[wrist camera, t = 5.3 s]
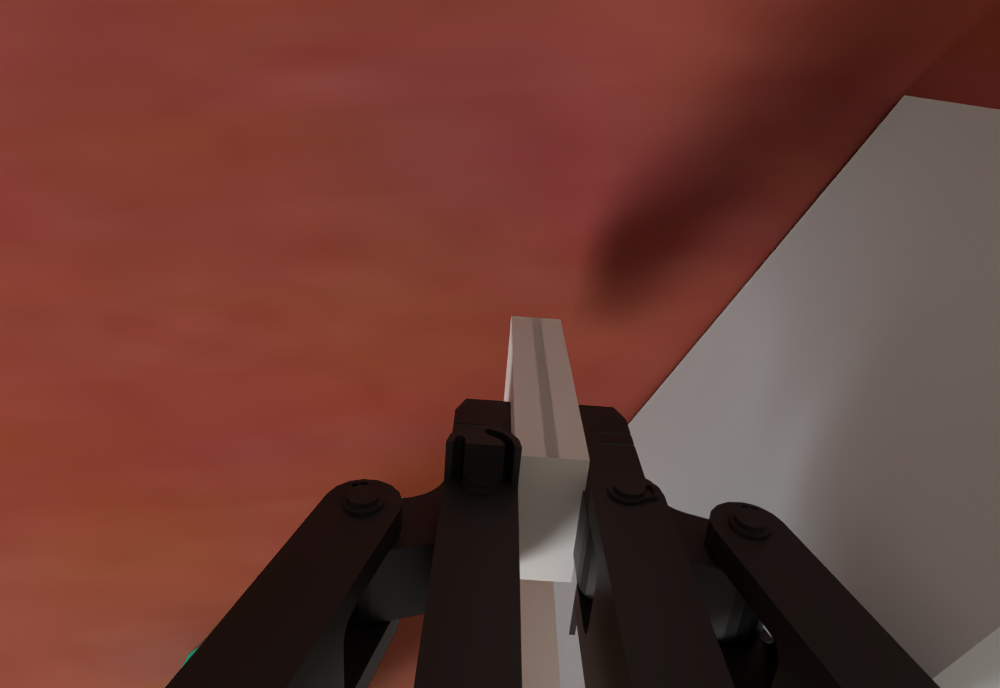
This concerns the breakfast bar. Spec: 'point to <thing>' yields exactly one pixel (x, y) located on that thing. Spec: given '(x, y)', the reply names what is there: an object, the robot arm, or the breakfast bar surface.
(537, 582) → the door frame
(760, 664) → the robot arm
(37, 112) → the breakfast bar surface
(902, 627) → the door
